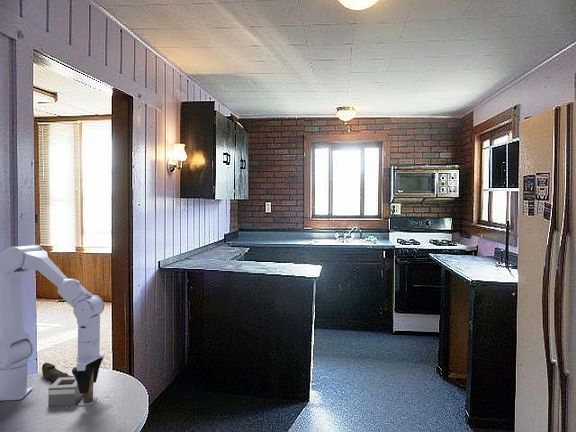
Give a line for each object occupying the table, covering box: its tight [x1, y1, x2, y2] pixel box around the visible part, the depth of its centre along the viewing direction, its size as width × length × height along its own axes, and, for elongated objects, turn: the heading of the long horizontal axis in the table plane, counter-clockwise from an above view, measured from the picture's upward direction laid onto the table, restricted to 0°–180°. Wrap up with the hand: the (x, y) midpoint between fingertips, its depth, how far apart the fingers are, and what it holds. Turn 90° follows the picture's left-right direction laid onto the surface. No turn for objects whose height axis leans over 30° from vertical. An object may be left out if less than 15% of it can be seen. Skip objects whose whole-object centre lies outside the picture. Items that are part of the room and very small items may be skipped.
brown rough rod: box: [41, 362, 75, 383], centre depth 140 cm, size 19×4×5 cm, turn 49°
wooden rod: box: [82, 371, 94, 403], centre depth 125 cm, size 3×3×9 cm
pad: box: [77, 396, 99, 407], centre depth 125 cm, size 4×5×1 cm
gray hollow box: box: [47, 376, 83, 407], centre depth 126 cm, size 7×8×5 cm
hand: (88, 387), depth 125 cm, fingers open, 7 cm apart
